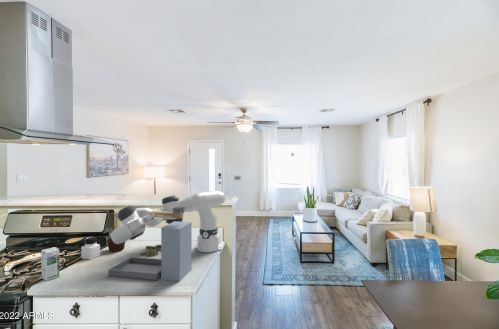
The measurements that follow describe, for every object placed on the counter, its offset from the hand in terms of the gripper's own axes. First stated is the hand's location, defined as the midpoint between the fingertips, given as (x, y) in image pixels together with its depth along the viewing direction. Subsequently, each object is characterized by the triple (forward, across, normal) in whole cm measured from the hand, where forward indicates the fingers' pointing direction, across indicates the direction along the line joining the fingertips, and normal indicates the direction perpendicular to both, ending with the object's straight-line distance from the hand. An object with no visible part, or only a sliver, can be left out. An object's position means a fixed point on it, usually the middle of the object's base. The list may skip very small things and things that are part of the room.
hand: (157, 213), depth 136 cm
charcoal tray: (-23, 0, -23) cm, 32 cm away
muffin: (-54, -26, -5) cm, 61 cm away
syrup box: (-59, +16, -3) cm, 61 cm away
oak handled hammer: (+4, 0, -4) cm, 5 cm away
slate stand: (-6, 0, -33) cm, 33 cm away
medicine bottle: (-61, -12, -2) cm, 62 cm away
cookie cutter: (-33, -28, -18) cm, 47 cm away
